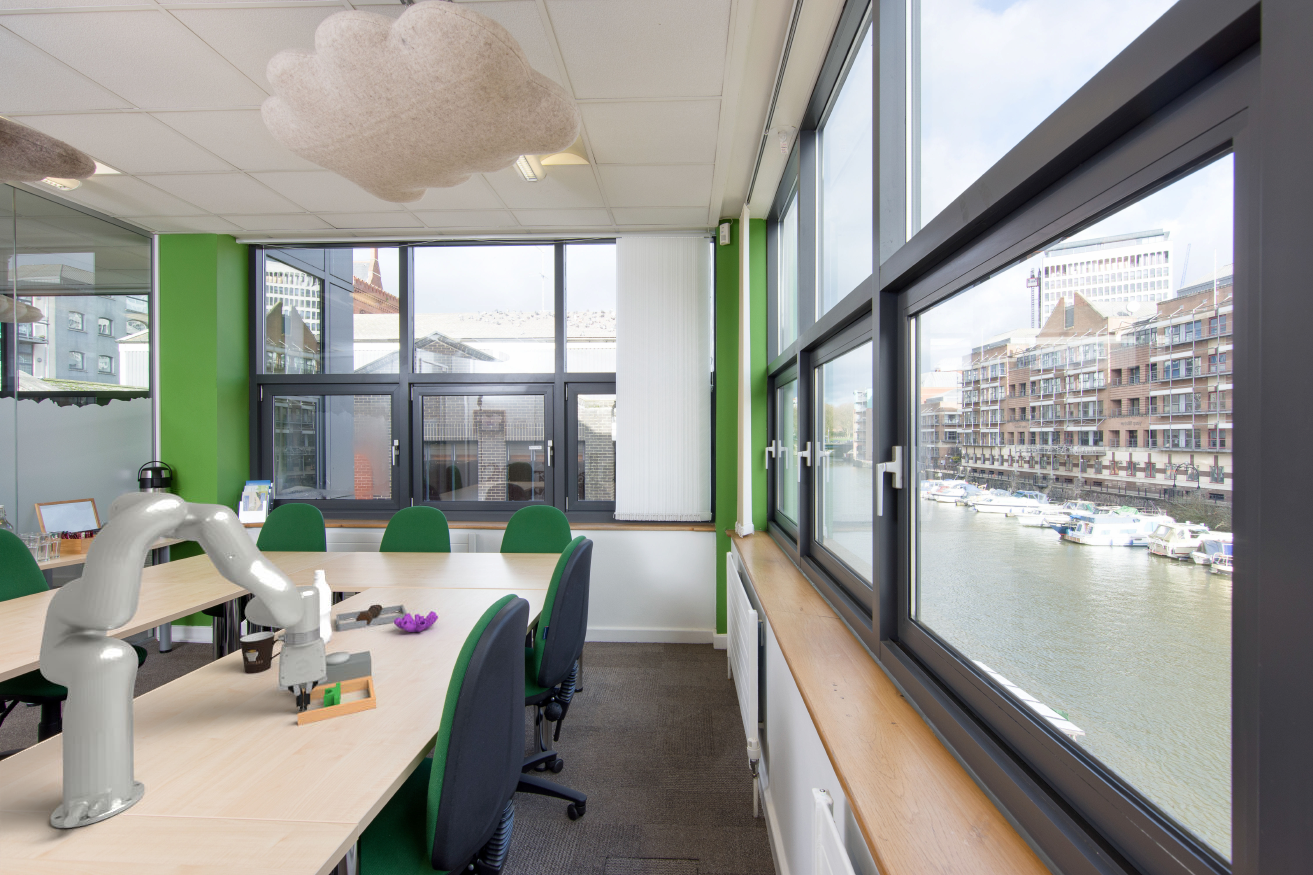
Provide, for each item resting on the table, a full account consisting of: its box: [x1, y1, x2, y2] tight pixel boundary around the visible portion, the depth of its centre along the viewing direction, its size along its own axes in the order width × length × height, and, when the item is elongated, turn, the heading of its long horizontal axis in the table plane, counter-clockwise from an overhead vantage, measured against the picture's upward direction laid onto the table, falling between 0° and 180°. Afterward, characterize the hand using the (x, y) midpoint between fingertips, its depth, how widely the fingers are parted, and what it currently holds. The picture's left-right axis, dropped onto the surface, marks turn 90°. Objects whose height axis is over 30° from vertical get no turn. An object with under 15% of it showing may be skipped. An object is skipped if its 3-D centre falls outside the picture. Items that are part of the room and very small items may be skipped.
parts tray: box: [335, 604, 408, 632], centre depth 217 cm, size 15×24×2 cm, turn 120°
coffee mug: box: [239, 631, 285, 675], centre depth 171 cm, size 12×9×10 cm
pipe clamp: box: [323, 682, 342, 708], centre depth 146 cm, size 10×4×4 cm, turn 27°
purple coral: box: [393, 610, 439, 633], centre depth 204 cm, size 11×15×10 cm
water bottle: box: [311, 569, 333, 645], centre depth 193 cm, size 7×7×25 cm
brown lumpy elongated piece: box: [355, 604, 383, 625], centre depth 217 cm, size 6×5×15 cm
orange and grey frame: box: [297, 650, 377, 726], centre depth 151 cm, size 24×17×8 cm
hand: (303, 708), depth 143 cm, fingers closed
